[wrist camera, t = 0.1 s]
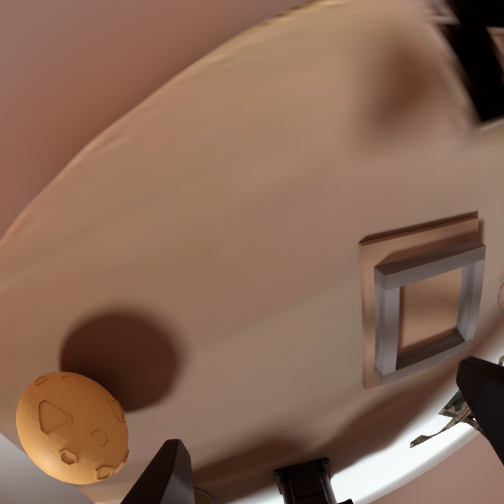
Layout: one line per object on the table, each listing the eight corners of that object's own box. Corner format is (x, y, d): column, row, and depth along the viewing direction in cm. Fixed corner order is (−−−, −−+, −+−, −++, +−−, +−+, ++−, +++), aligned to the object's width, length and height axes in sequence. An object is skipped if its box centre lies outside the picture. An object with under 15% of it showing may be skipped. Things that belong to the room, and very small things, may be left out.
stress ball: (73, 414, 26) (130, 486, 21) (-5, 421, 17) (48, 515, 13) (102, 347, 26) (171, 426, 21) (8, 343, 17) (69, 457, 12)
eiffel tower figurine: (406, 446, 32) (446, 517, 19) (413, 401, 29) (469, 483, 16) (488, 400, 32) (534, 454, 20) (502, 350, 29) (563, 406, 16)
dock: (460, 345, 27) (474, 358, 24) (362, 384, 26) (372, 402, 24) (472, 216, 22) (492, 222, 20) (358, 243, 22) (373, 253, 20)
